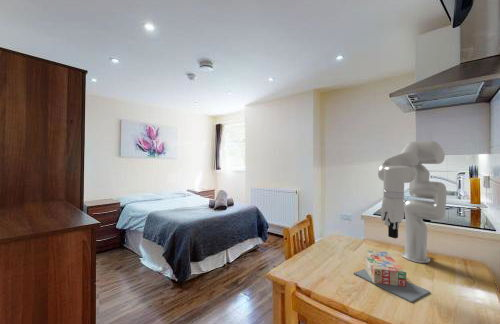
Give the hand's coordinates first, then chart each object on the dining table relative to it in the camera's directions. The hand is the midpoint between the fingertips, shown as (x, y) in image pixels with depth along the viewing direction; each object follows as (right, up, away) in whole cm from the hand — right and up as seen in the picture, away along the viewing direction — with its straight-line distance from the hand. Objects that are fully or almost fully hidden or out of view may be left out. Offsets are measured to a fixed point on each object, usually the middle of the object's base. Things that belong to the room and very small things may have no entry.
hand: (393, 237), depth 99 cm
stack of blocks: (+4, -16, +5) cm, 17 cm away
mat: (-3, -19, -1) cm, 19 cm away
